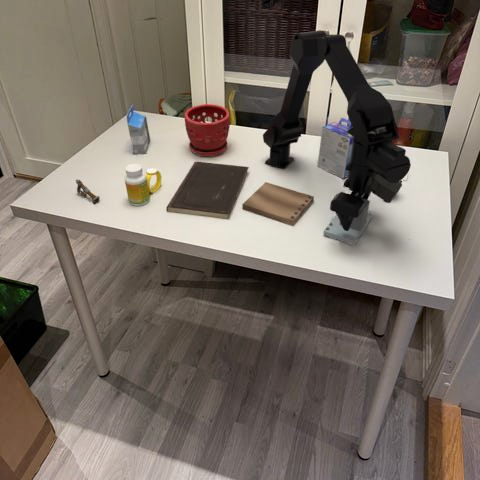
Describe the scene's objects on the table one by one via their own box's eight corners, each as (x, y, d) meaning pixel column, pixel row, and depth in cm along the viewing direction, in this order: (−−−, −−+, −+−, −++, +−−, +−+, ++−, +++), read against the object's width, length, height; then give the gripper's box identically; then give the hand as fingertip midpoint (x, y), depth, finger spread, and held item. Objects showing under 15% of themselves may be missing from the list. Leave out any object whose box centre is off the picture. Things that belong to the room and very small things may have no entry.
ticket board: (265, 186, 123) (265, 181, 122) (313, 201, 117) (314, 195, 116) (242, 209, 115) (242, 203, 114) (292, 225, 109) (293, 220, 108)
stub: (342, 208, 113) (346, 184, 109) (371, 217, 110) (376, 192, 106) (323, 234, 105) (326, 209, 101) (354, 244, 102) (358, 219, 98)
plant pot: (178, 151, 139) (174, 114, 132) (208, 136, 147) (206, 100, 139) (209, 165, 132) (207, 126, 125) (239, 148, 140) (238, 111, 133)
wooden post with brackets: (78, 187, 122) (79, 176, 119) (98, 206, 121) (99, 196, 117) (72, 190, 121) (73, 179, 118) (92, 210, 120) (94, 199, 116)
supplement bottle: (145, 207, 116) (139, 174, 110) (125, 205, 117) (118, 172, 111) (153, 196, 120) (147, 163, 114) (133, 194, 121) (127, 161, 115)
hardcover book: (248, 174, 129) (248, 166, 128) (228, 221, 112) (228, 213, 110) (194, 168, 132) (193, 161, 131) (166, 213, 115) (165, 205, 113)
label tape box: (146, 154, 138) (139, 115, 130) (132, 154, 138) (125, 115, 130) (150, 141, 145) (145, 103, 137) (138, 141, 145) (131, 103, 137)
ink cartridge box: (356, 172, 128) (364, 124, 119) (344, 180, 125) (351, 130, 116) (329, 160, 134) (335, 112, 125) (316, 166, 131) (321, 118, 122)
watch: (155, 184, 125) (153, 164, 122) (164, 186, 124) (162, 166, 121) (143, 194, 120) (140, 173, 117) (152, 196, 120) (150, 176, 116)
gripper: (388, 191, 87) (374, 253, 97) (414, 150, 99) (399, 210, 109) (333, 176, 92) (325, 237, 101) (364, 139, 104) (354, 197, 114)
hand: (353, 219), depth 106 cm, fingers open, 9 cm apart
